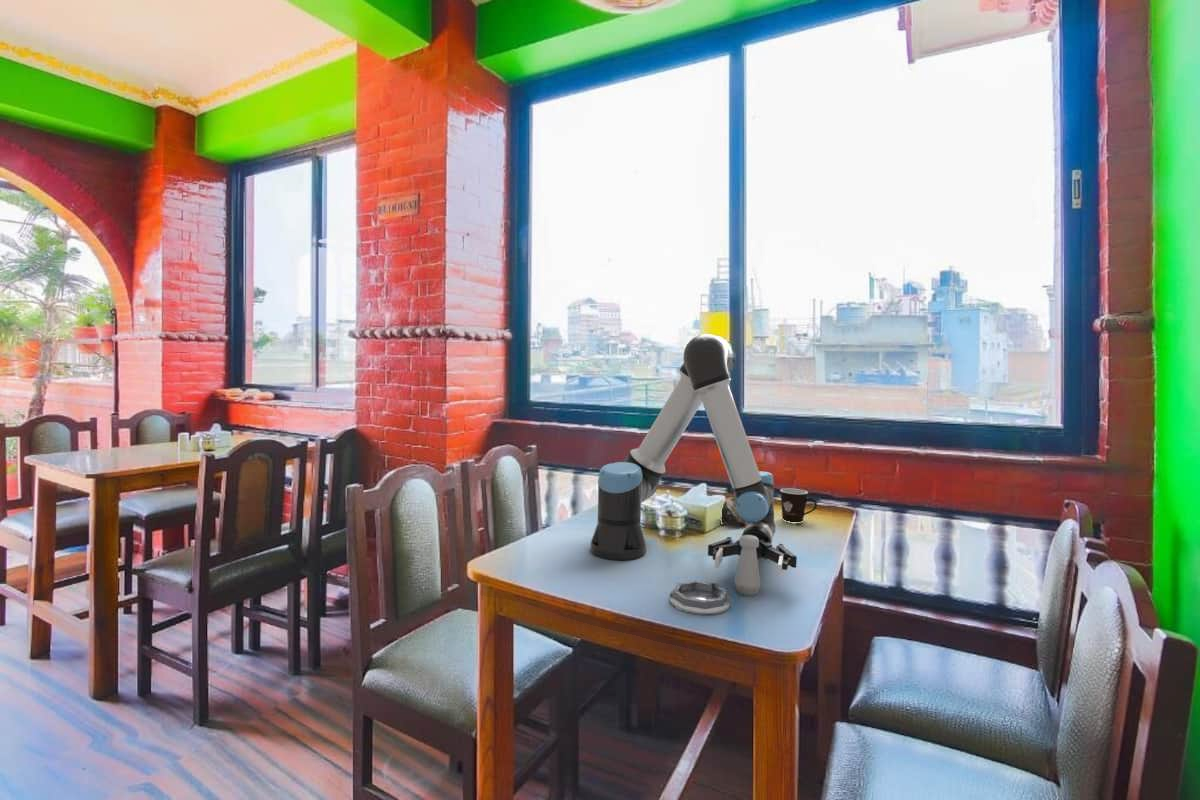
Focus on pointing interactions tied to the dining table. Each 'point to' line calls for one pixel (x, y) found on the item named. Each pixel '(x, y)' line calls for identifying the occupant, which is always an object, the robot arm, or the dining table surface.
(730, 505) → the fossil
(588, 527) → the dining table surface
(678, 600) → the steel collar
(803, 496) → the coffee mug
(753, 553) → the salt shaker
